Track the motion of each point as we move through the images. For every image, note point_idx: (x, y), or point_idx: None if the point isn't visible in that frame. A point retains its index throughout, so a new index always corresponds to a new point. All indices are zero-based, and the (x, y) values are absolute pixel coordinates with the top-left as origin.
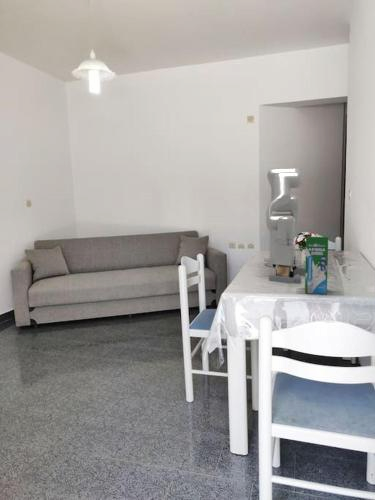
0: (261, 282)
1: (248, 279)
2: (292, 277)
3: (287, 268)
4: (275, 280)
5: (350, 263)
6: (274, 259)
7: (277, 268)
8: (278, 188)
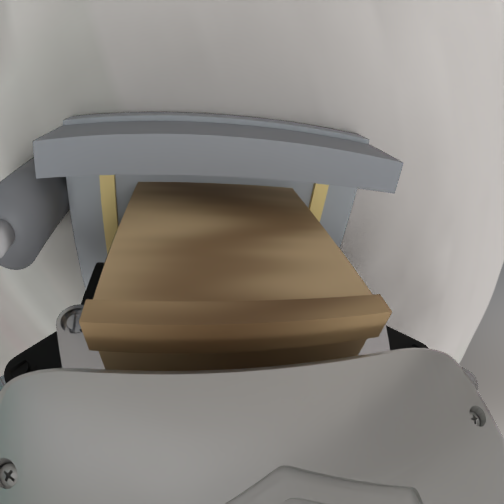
0: (417, 126)
1: (487, 198)
2: (103, 263)
3: (113, 303)
4: (295, 132)
5: None
6: (485, 420)
7: (349, 284)
8: None
